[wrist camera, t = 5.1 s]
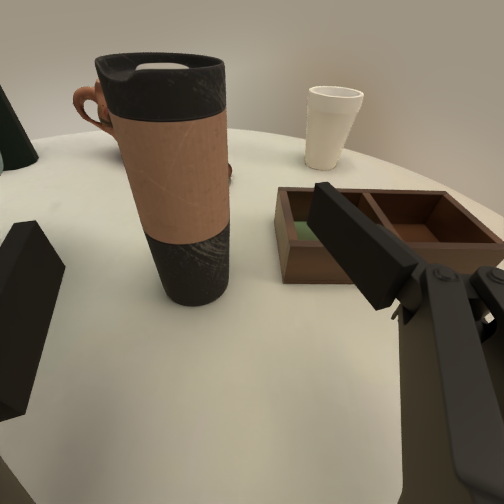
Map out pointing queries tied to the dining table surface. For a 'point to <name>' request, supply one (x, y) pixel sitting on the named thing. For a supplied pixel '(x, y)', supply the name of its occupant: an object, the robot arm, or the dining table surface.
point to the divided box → (395, 219)
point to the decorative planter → (103, 112)
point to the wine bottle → (13, 138)
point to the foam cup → (329, 123)
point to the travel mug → (175, 163)
